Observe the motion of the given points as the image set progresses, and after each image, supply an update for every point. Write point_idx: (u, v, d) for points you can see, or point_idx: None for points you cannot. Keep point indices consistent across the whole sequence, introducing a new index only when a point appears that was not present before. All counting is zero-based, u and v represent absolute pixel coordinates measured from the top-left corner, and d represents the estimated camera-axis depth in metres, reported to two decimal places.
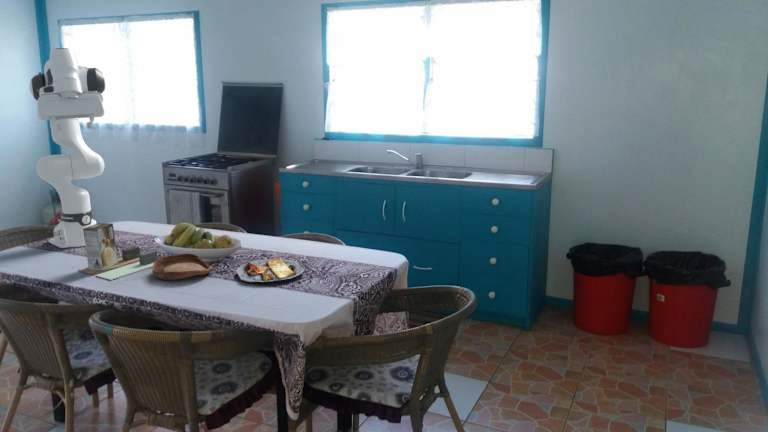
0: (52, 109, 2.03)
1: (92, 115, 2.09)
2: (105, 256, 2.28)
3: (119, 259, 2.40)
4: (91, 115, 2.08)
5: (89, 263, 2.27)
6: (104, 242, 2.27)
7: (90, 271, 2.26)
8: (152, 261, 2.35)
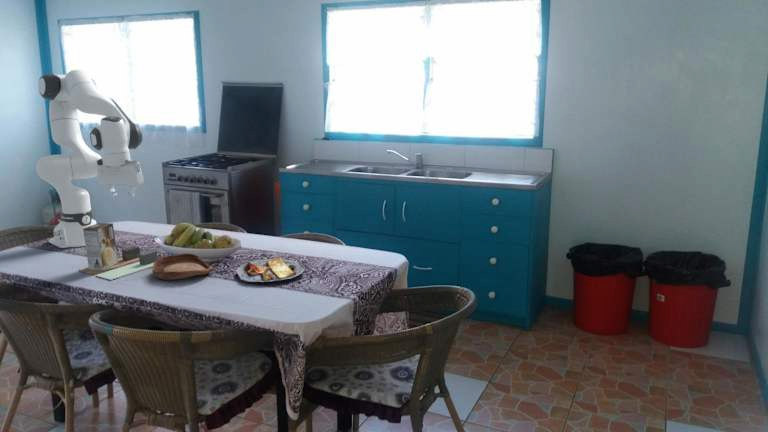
0: (106, 179, 2.32)
1: (131, 186, 2.28)
2: (106, 256, 2.28)
3: (119, 259, 2.40)
4: (130, 186, 2.28)
5: (89, 263, 2.27)
6: (104, 242, 2.27)
7: (90, 271, 2.26)
8: (152, 261, 2.35)
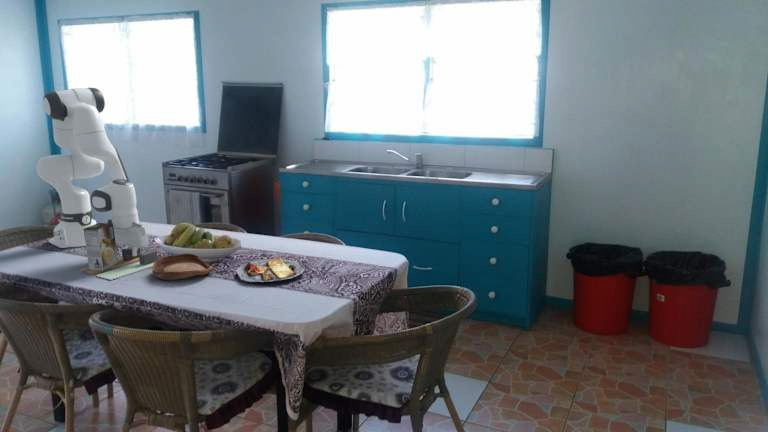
0: (115, 237, 2.41)
1: (132, 246, 2.37)
2: (106, 256, 2.28)
3: (119, 259, 2.40)
4: (132, 246, 2.37)
5: (89, 263, 2.27)
6: (105, 242, 2.27)
7: (90, 271, 2.26)
8: (152, 261, 2.35)
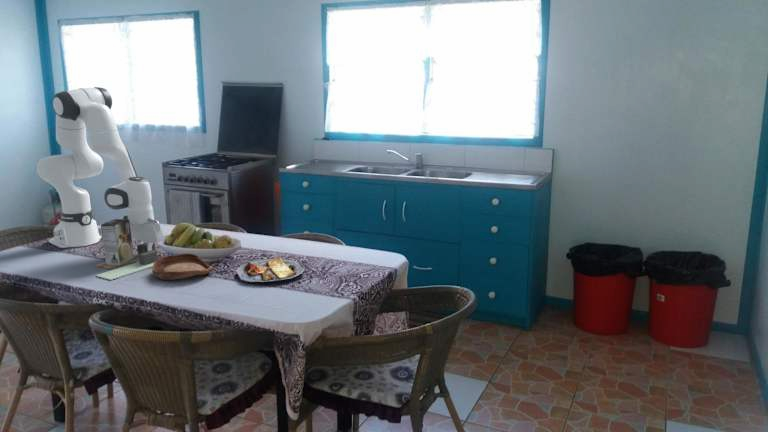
0: (131, 233, 2.47)
1: (148, 242, 2.43)
2: (122, 251, 2.34)
3: (135, 254, 2.46)
4: (147, 242, 2.43)
5: (106, 258, 2.33)
6: (121, 238, 2.33)
7: (107, 266, 2.32)
8: (152, 261, 2.35)
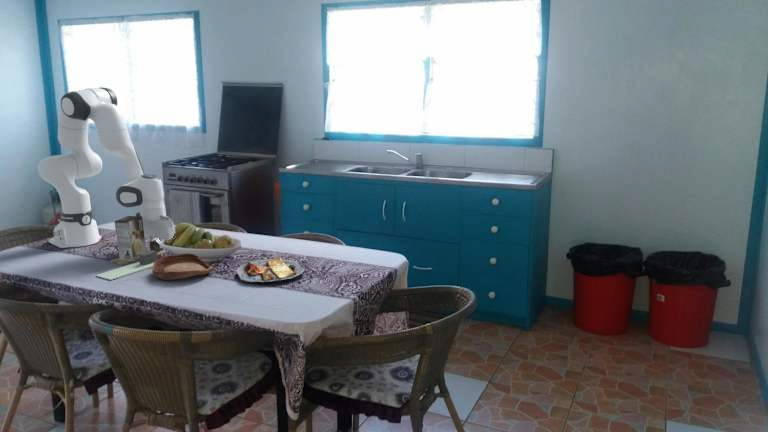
0: None
1: (160, 238, 2.48)
2: (136, 247, 2.39)
3: (147, 251, 2.51)
4: (159, 238, 2.48)
5: (120, 254, 2.38)
6: (135, 234, 2.38)
7: (121, 261, 2.37)
8: (152, 261, 2.35)
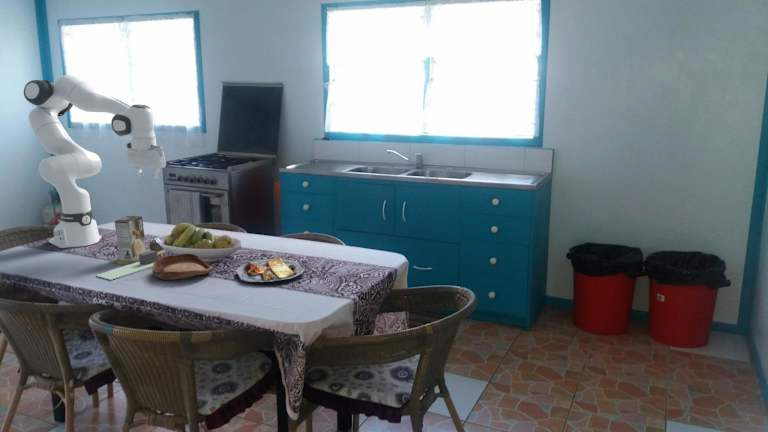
0: (134, 161, 2.55)
1: (155, 168, 2.51)
2: (136, 247, 2.39)
3: (147, 251, 2.51)
4: (154, 168, 2.51)
5: (120, 254, 2.38)
6: (135, 234, 2.38)
7: (121, 262, 2.37)
8: (152, 261, 2.35)
